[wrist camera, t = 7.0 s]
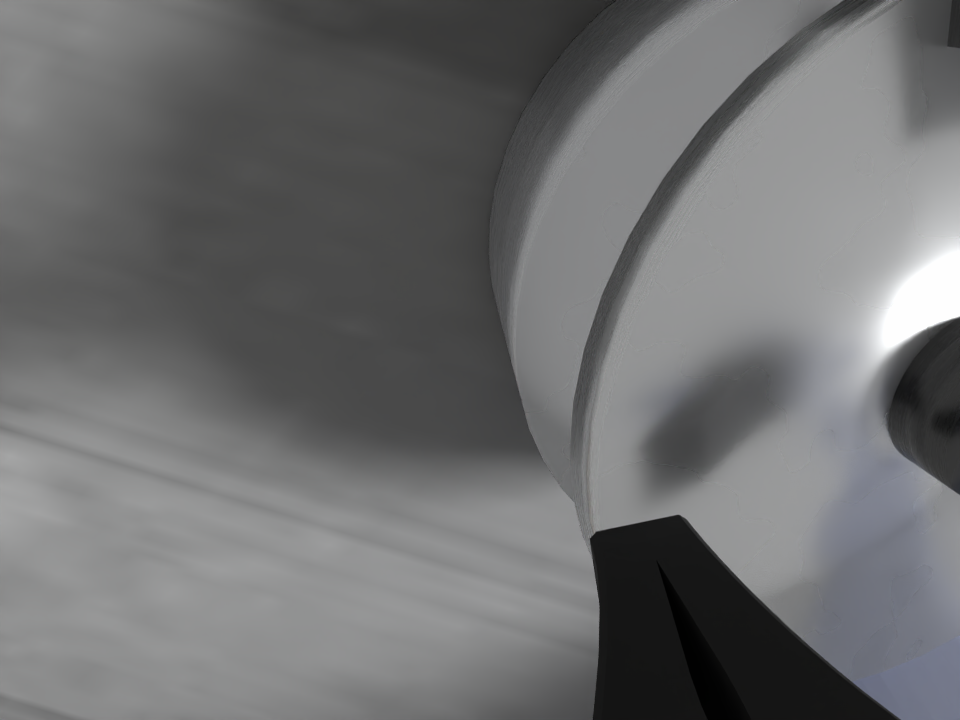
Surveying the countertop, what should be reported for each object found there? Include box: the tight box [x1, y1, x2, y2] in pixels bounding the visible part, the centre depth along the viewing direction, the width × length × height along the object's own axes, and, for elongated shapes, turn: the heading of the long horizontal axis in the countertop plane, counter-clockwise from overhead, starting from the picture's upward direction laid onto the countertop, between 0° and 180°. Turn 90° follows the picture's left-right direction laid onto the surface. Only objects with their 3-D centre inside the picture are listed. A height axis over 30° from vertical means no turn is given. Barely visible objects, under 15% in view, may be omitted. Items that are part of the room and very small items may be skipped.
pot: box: [489, 0, 843, 502], centre depth 17 cm, size 22×14×5 cm, turn 10°
